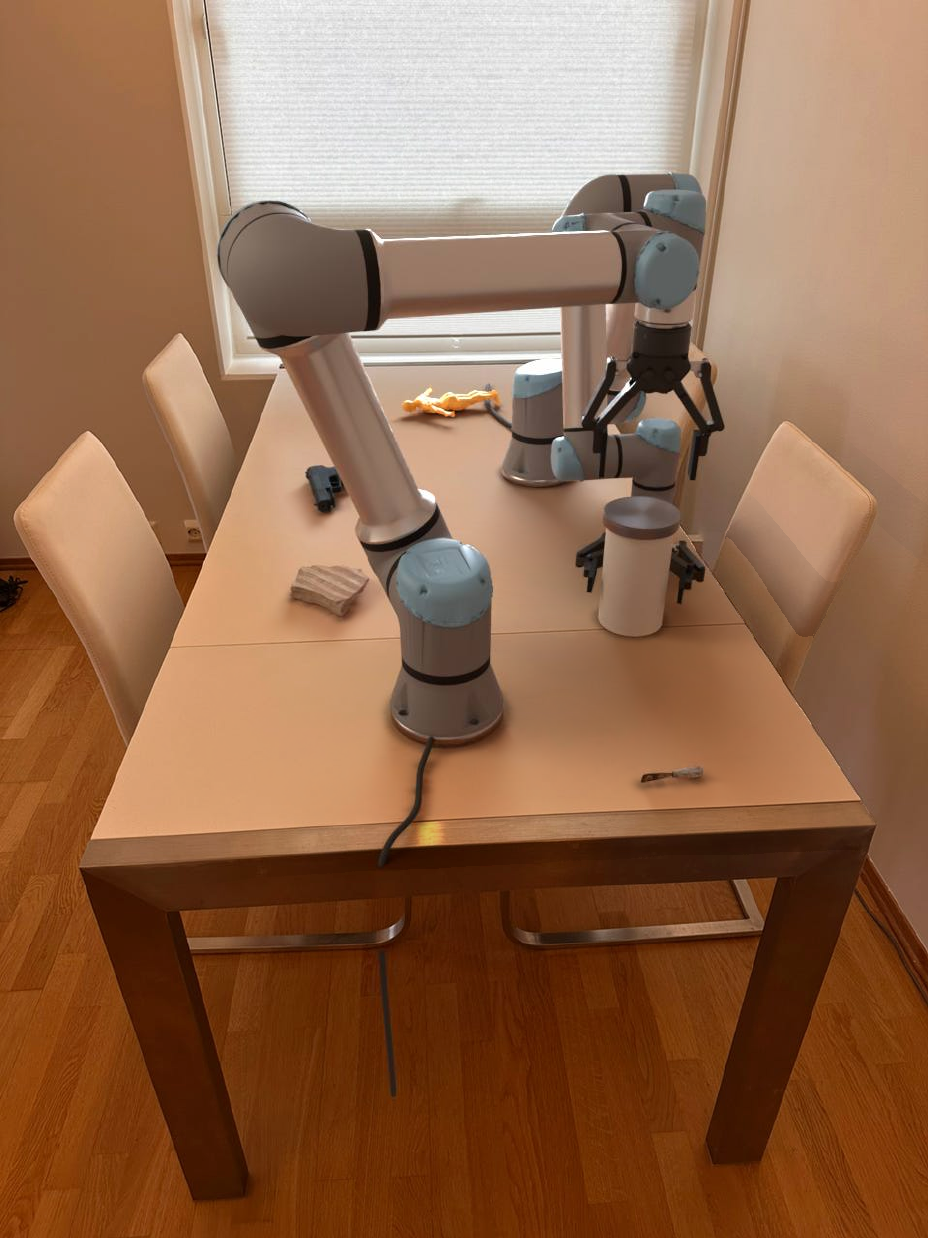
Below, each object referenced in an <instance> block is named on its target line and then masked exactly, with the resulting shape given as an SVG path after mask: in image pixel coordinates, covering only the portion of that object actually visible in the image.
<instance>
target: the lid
mask: <svg viewBox="0 0 928 1238" xmlns="http://www.w3.org/2000/svg"><path fill="white" fill-rule="evenodd" d="M681 518H682V514H681V511H680V509H678V507H676V506H675V505H672V504H670V503H668V502H666V501H663V500H659V499H655V498H650V497H638V496H634V497H631V496H624V497H619V498H615V499H612V500H611V501H608V502H607V503H606V504H605V506H604V507H603V511H602V524H603V526H604V528H605V529H606V528H607V529H608V530H609V531H611V532H613V533H615V534H617V535H620V536H623V537H626V538H631V539H638V540H656V539H662V538H666V537H669V536H671V535H673V534H674V535H675V534H677V532H679V530H680V527H681V526H680V525H681Z"/></svg>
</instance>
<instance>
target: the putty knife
mask: <svg viewBox="0 0 928 1238" xmlns="http://www.w3.org/2000/svg"><path fill="white" fill-rule="evenodd" d="M704 772H705V771H704V768H702V767H701V766H697V765H695V766H688V767H683V768H679V769H675V770H673V771H671V772H653V773H652V772H651V773H650V772H649V773H644V774H642V776H641V779H640V783H642V784H645V783H648V782H653V781H659V780H665V779H668V778H673V779H674V778H675V779H693V778H694V779H695V778H700V777H702V776H703V775H704Z"/></svg>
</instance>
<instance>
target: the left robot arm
mask: <svg viewBox="0 0 928 1238" xmlns="http://www.w3.org/2000/svg"><path fill="white" fill-rule="evenodd" d="M560 217H561V216H560ZM706 220H707V200H706V197H705V196H704V194H703V193H702V194H701V193H699V192H695V191H688V190H658V191H652V192H650V193H649V194H648V195H647V196H646V199H645V204H644V206H643V210H639V211H636V212H623V213H597V214H584V213H581V214H579V215H571V216H564V217H561V218H557V219H556V221H555V222H554V224H553V226H552V228H551V231H550V232H544V233H518V234H517V233H516V234H515V233H514V234H496V235H495V234H491V235H468V236H446V237H445V236H444V237H443V236H442V237H423V238H422V237H418V238H417V237H416V238H395V239H392V238H391V239H382V238H380V237H379V236H378V235H377V234H376V233H375V232H373V230H372V229H369V228H366V229H364V228H363V229H346V228H336V227H335V228H334V227H329V226H324V225H321V224H317V223H314V222H313V221H311V219H310V217H309V216H308V215H306V213H304V212H303V211H302V210H301V209H300V208H298V207H296V206H294V205H293V204H290V203H287V202H284V201H281V200H258V201H254V202H251V203H248V204H245V205H244V206H242V207H240V208H239V209H237V210H236V211H235V212H233V214H232V215H231V216H230V217H229V218H228V219H227V221H226V222H225V224H224V225H223V228H222V230H221V232H220V235H219V238H218V244H217V249H216V250H217V251H216V253H217V254H216V256H217V266H218V270H219V273H220V276H221V277H222V279H223V281H224V283H225V285H226V286H227V287H228V289H229V290H230V292H231V293H232V296H233V299H234V301H235V303H236V305H237V306H238V308H239V309H240V311H241V313H242V316H243V318H244V319H245V322H246V323H247V325H248V327H249V329H250V330H251V333H252V334H253V336H254V338H255V340H256V342H257V344H258V346H259V348H260V349H261V351H264V352H268V353H270V354H273V355H276V356H278V357H279V359H280V361H281V362H282V365H283V367H284V369H285V370H286V372H287V375H288V376H289V379H290V380H291V383H292V384H293V386H294V389H295V391H296V392H297V395H298V397H299V398H300V400H301V402H302V404H303V406H304V409H305V410H306V412H307V414H308V417H309V418H310V421H311V422H312V424H313V427H314V429H315V431H316V433H317V435H318V437H319V438H320V441H321V443H322V444H323V446H324V449H325V450H326V453H327V454H328V456H329V458H330V460H331V462H332V465H333V467H334V466H335V468H336V470H337V472H338V474H339V476H340V478H341V480H342V482H343V484H344V486H343V487H344V488H345V490H346V492H347V495H348V496H349V498H350V501H351V502H352V504H353V506H354V508H355V510H356V512H357V514H358V516H359V517H358V519H357V522H356V524H355V528H354V532H355V535H356V537H357V539H358V541H359V544H360V545H361V547H362V549H363V551H364V553H365V555H366V558H367V562H368V564H369V567H370V568H371V569H372V571H373V573H374V575H375V576H376V577H377V579H378V581H379V583H380V585H381V587H382V589H383V591H384V593H385V595H386V596H387V599H388V601H389V603H390V604H391V607H392V609H393V610H394V613H395V615H396V617H397V621H398V624H399V633H400V634H399V635H400V655H401V667H400V669H399V672H398V675H397V678H396V681H395V684H394V687H393V690H392V693H391V696H390V703H389V706H390V718H391V721H392V724H393V725H394V727H395V728H396V729H397V731H398V732H399V733H400V734H402V735H403V736H404V737H406V738H407V739H409V740H411V741H413V742H415V743H417V744H420V745H421V744H422V745H425V747H424V749H423V753H422V755H421V758H420V760H419V763H418V765H417V769H416V776H415V792H414V804H413V806H412V809H411V811H410V812H409V814H408V816H407V817H406V818H405V819H404V820H403V821H402V822H401V823H400V824H399V825H398V826H397V827H396V828H395V829H394V830H393V831H392V832H391V833H390V835H389V836H388V838H387V839H386V841H385V842H384V845H383V847H382V849H381V852H380V854H379V858H378V861H377V865H378V866H379V867H384V866H385V865H386V862H387V859H388V855H389V853H390V851H391V848H392V847H393V845H394V844H395V841H396V840H397V839H398V837H399V836H400V835H401V834H402V833H403V832H404V831H405V830H406V829H407V828H408V827H409V826H411V824H412V823H414V821H415V819H416V818H417V816H418V814H419V812H420V809H421V806H422V798H423V786H424V785H423V784H424V783H423V782H424V772H425V768H426V764H427V762H428V760H429V757H430V755H431V751H432V750H433V747H437V748H454V747H455V748H457V747H463V746H467V745H471V744H473V743H476V742H480V741H481V740H483V739H485V738H486V737H488V736H489V735H491V734H492V733H493V732H494V731H495V730H496V729H498V727H499V726H500V724H501V722H502V720H503V717H504V696H503V693H502V690H501V687H500V685H499V682H498V679H497V677H496V674H495V672H494V668H493V666H492V664H491V654H492V653H491V651H492V649H491V648H492V608H493V607H492V603H493V602H492V601H493V594H494V585H493V578H492V572H491V567H490V565H489V562H488V560H487V558H486V557H485V556H484V554H482V552H481V551H479V550H478V549H477V548H476V547H474V546H473V545H470V544H467V543H466V544H463V543H462V541H460V540H457V539H454V538H453V536H452V534H451V531H450V530H449V528H448V524H447V523H446V520H445V518H444V516H443V513H442V511H441V509H440V507H439V505H438V503H437V500H436V498H435V496H434V495H433V494H432V493H430V492H428V491H427V490H423V489H419V487H418V485H417V483H416V481H415V478H414V476H413V474H412V471H411V470H410V467H409V465H408V463H407V461H406V458H405V456H404V453H403V450H402V449H401V447H400V444H399V442H398V440H397V437H396V436H395V433H394V431H393V429H392V427H391V424H390V422H389V419H388V418H387V415H386V413H385V411H384V409H383V406H382V404H381V402H380V400H379V397H378V395H377V392H376V391H375V388H374V386H373V384H372V381H371V379H370V376H369V374H368V373H367V370H366V368H365V365H364V363H363V361H362V359H361V356H360V355H359V352H358V350H357V347H356V345H355V343H354V341H353V339H352V336H351V334H350V333H359V332H362V333H363V332H374V331H375V332H376V331H379V330H380V329H381V328H382V327H383V325H384V324H385V323H386V322H387V321H388V320H394V319H395V320H396V319H397V320H398V319H413V318H424V317H441V316H453V315H468V314H469V315H471V314H483V313H497V312H512V311H513V312H514V311H527V310H528V311H529V310H542V309H543V310H544V309H555V308H560V307H572V306H587V305H602V304H606V305H608V304H624V303H636V305H635V318H636V319H638V321H636V323H634V326H633V337H632V348H631V354H630V357H629V358H628V360H619V359H615V358H614V357H613V356H610V357H608V358H607V361H606V368H605V373H604V375H603V377H602V379H601V381H600V383H599V384H598V386H597V388H596V390H595V392H594V394H593V396H592V398H591V400H590V401H589V403H588V405H587V407H586V409H585V411H584V413H583V415H582V417H581V423H582V427H583V428H589V429H591V430H592V431H593V440H592V450H593V453H598V454H599V464H598V475H599V478H604V472H605V460H606V448H607V437H608V435H609V432H608V433H607V429H608V426H609V425H610V424H609V423H610V422H611V421H612V420H613V419H614V417H615V416H616V415H617V414H618V413H619V412H620V411H621V410H622V409H623V407H624V406H625V405H626V404H627V403H628V402H629V401H630V400H631V399H632V398H633V397H635V396H636V395H637V393H638V392H639V391H640V390H641V391H643V392H644V393H646V394H655V393H658V394H662V395H668V393H671V392H672V391H673V392H674V394H675V395H676V397H677V398H678V399H679V401H680V402H681V404H682V405H683V406H684V409H685V410H686V412H687V413H688V414H689V416H690V417H691V419H692V420H693V422H694V423H695V425H696V426H697V428H698V429H693V431H692V437H691V445H690V451H689V452H690V453H689V460H688V466H687V467H688V468H687V475H688V479H689V481H696V479H697V473H698V467H699V466H698V465H699V458H700V457H706V455H707V454H708V447H709V443H710V442H709V441H710V437H711V436H712V434H713V433H716V432H723V431H724V430H725V428H726V425H725V423H724V422H725V421H724V419H723V417H722V412H721V409H720V406H719V403H718V399H717V396H716V392H715V390H714V387H713V383H712V379H711V378H712V364H711V362H710V360H709V359H708V358H707V357H703V358H701V359H700V360H691V361H690V358H689V352H690V346H691V337H692V331H693V330H692V329H693V326H692V325H691V323H690V322H691V321H692V320H693V319H694V314H695V306H696V297H697V287H698V281H699V274H700V268H701V259H702V252H703V244H704V239H705V235H706V222H707V221H706ZM625 369H627V371H628V373H629V374H630V376H631V377H632V378H631V379H630V380H629V381H628V382H627V383H626V385H625V387H624V388H623V389H622V390H621V391H620V392H619V394H618V395H617V396H616V397H615V398H614V399H613V400H612V401H611V403H610V404H609V405H608V406H607V407H606V408H605V409H604V410H603V412H602V413H601V414H600V415H599V416H598V417H597V418H596V419H595V418H594V417H595V415H596V413H597V411H598V410H599V408H600V406H601V404H602V402H603V400H604V398H605V397H606V395H607V393H608V391H609V389H610V387H611V385H612V383H613V381H614V378H615V376H619V375H620V374H621V372H622V371H623V370H625ZM690 372H693V375H694V376H695V378H696V379H699V381H700V382H699V383H700V385H701V388H702V391H703V394H704V398H705V401H706V404H707V407H708V411H709V414H710V417H711V420H708V421H707V419H706V418H705V417H704V415H703V414H702V412H701V410H700V409H699V408H698V406H697V404H696V402H695V401H694V400H693V398H692V396H691V395H690V394H689V392H688V390H687V389H686V387H685V386H684V384H683V382H682V381H683V380H684V379H685V378H686V376H687V375H688V374H689V373H690ZM608 424H609V425H608ZM607 425H608V426H607ZM606 426H607V427H606ZM378 966H379V979H380V980H379V982H380V993H381V1004H382V1014H383V1015H382V1016H383V1025H384V1033H385V1034H384V1035H385V1036H384V1037H385V1045H386V1055H387V1067H388V1079H389V1090H390V1092H389V1094H390V1096H391V1097H392V1098H395V1097H396V1096H397V1094H398V1093H397V1080H396V1069H395V1056H394V1055H395V1054H394V1047H393V1046H394V1045H393V1044H394V1043H393V1036H392V1035H393V1034H392V1023H391V1014H390V1001H389V989H388V977H387V975H388V974H387V956H386V951H385V950H381V949H378Z"/></svg>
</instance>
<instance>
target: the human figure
mask: <svg viewBox="0 0 928 1238" xmlns="http://www.w3.org/2000/svg"><path fill="white" fill-rule="evenodd" d="M424 391H425V392H423V393H422V394H420V395H418V396H416V398H415V399H414V400H404V401H403V402H402V411H404V412H405V413H410V414H412V413H414V412H417V408H418V409H420V410H421V411H423V412H424V413H427V414H439V415H443V416H444V417H449V416H450V417H451V418H452V417H453V418H454V417H455V416H456V414H455V411H462V410H464V409H467V408H469V407H471V406H473V405H476V404H478V403H481V402H484V401H485V400H488V399H489V400H493V402H494V403H495V404H496V405H497V406H500V398H499V393H498V392H497V391H496V390H495V389H493V390H491V391H489V392H486V391H478V390H473V391H470V392H469V393H468V394H460V393H457V394H455V393H453V392H446V393H444V394H443V395H442V396H441V397H440V398H434V397H429V396H430V395H432V394H433V392H434V391H433V389H432V385H429V387H428V389H424ZM450 410H452V411H450Z"/></svg>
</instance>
